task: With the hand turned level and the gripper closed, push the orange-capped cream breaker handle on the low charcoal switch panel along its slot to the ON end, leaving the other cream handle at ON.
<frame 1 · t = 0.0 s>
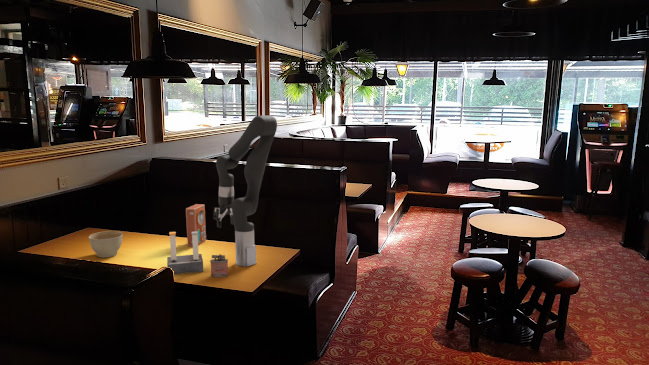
hand: (225, 225, 243), 17 cm above the table, tool pointing down, fingers open, 8 cm apart
tripped handle: (173, 246, 227), point 12 cm above the table, slide at 2.5 cm
planter bowl: (107, 255, 252), on the table
lighter: (219, 276, 221), on the table
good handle: (195, 245, 227), point 12 cm above the table, slide at 5.0 cm
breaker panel: (185, 269, 230), on the table
control panel: (196, 243, 273), on the table
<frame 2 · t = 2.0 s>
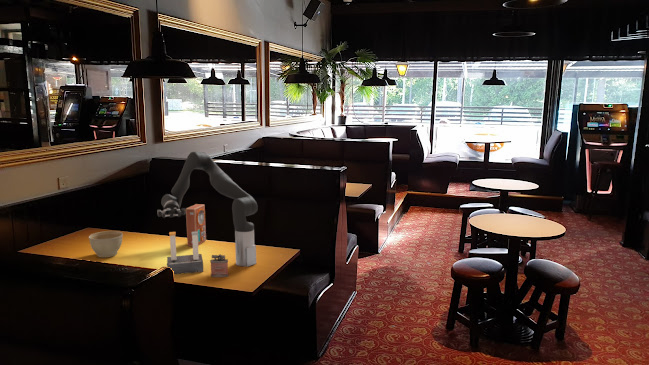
hand: (171, 215, 236), 24 cm above the table, tool horizontal, fingers open, 6 cm apart
nothing on the table moved.
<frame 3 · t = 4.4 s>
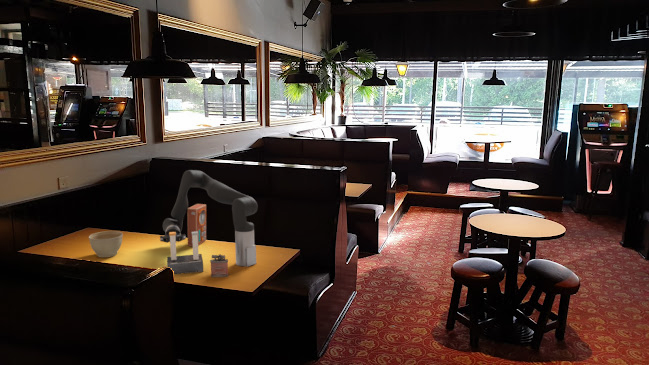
hand: (173, 242, 236), 11 cm above the table, tool horizontal, fingers closed
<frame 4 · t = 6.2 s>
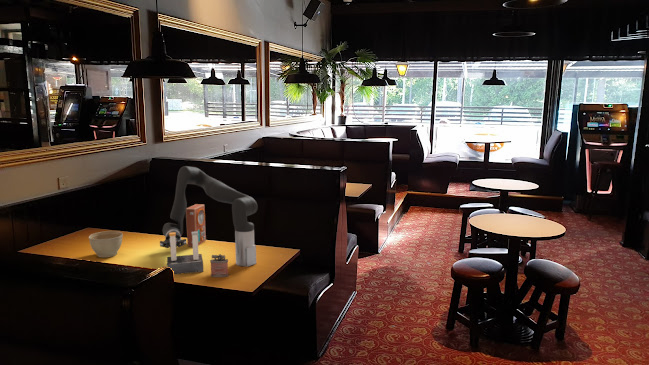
hand: (173, 247, 227), 11 cm above the table, tool horizontal, fingers closed
tripped handle: (173, 246, 226), point 12 cm above the table, slide at 3.3 cm, touching gripper
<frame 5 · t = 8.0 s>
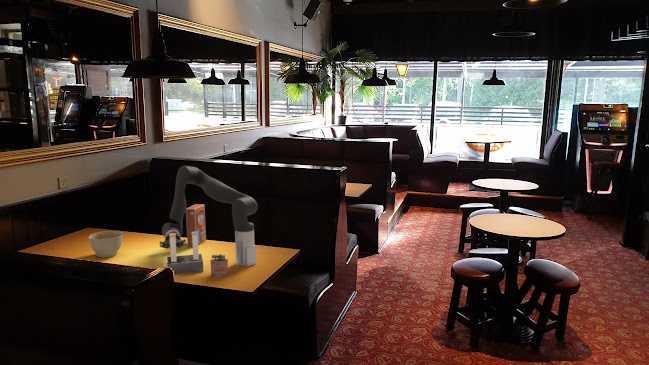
hand: (173, 248, 226), 11 cm above the table, tool horizontal, fingers closed
tripped handle: (173, 247, 224), point 12 cm above the table, slide at 5.1 cm
everything else where it was.
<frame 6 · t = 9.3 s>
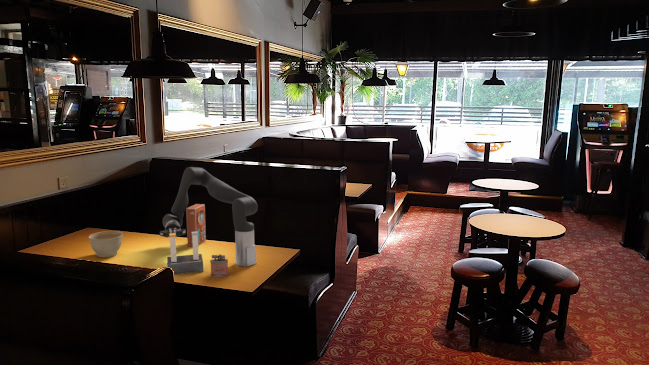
hand: (173, 236, 237), 14 cm above the table, tool horizontal, fingers closed
nothing on the table moved.
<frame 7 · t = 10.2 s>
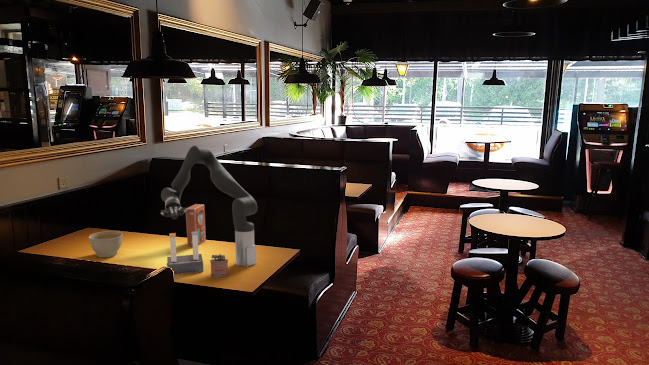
hand: (174, 217, 235), 23 cm above the table, tool horizontal, fingers closed
nothing on the table moved.
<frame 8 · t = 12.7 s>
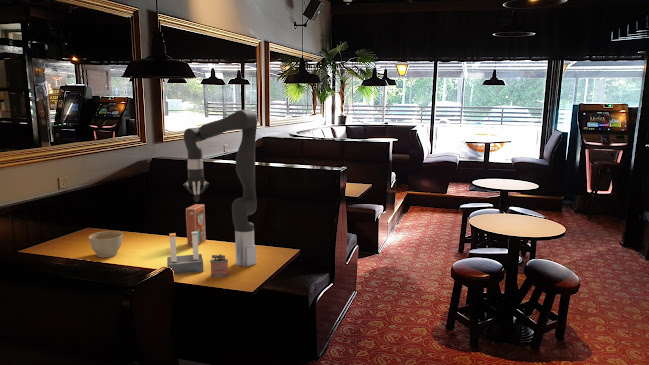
hand: (197, 201, 245), 29 cm above the table, tool pointing down, fingers closed
nothing on the table moved.
at the end: tripped handle slide at 5.1 cm; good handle slide at 5.0 cm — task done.
